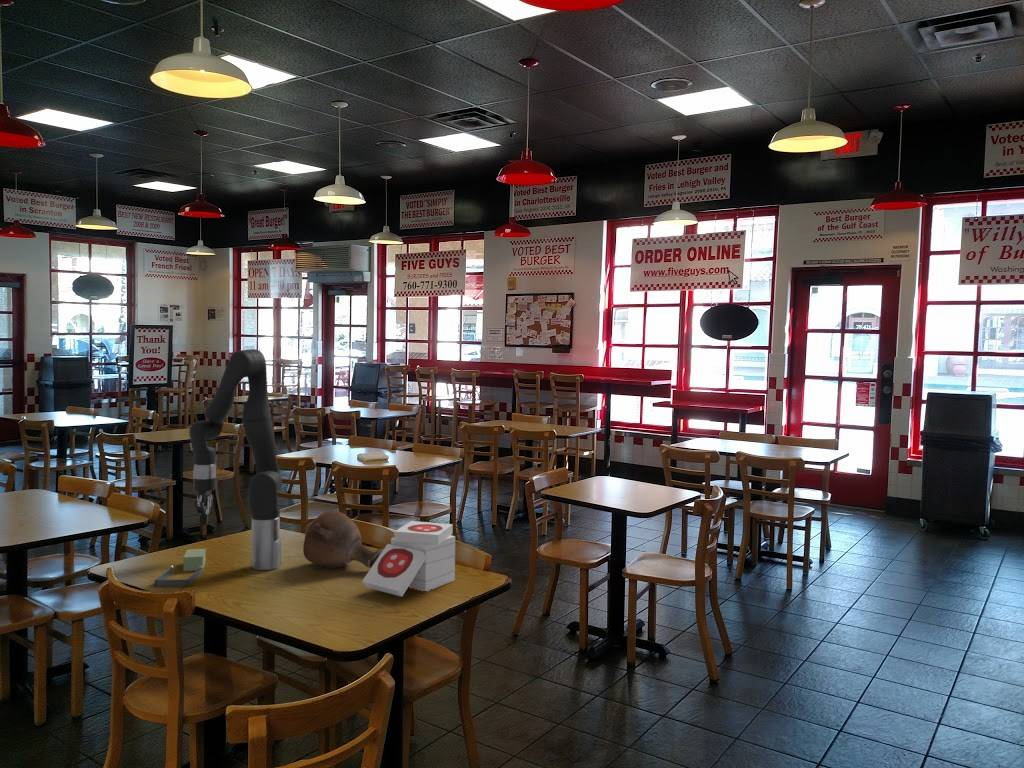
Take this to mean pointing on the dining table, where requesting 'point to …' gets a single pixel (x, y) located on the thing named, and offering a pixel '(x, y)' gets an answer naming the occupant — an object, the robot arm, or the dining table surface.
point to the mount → (176, 582)
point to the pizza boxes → (415, 559)
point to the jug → (336, 542)
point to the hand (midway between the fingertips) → (204, 524)
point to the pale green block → (194, 559)
